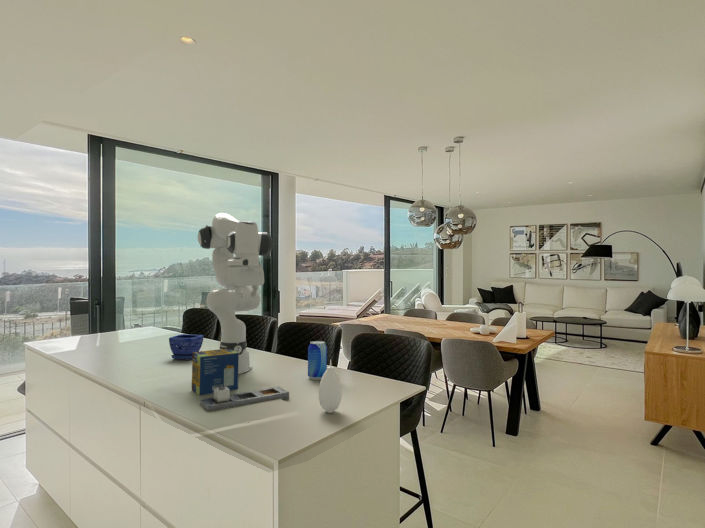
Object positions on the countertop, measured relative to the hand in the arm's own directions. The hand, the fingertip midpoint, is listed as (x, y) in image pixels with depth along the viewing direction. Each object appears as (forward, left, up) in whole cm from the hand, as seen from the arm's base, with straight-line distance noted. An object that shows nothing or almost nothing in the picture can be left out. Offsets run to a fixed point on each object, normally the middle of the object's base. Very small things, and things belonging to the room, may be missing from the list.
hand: (246, 297), depth 159 cm
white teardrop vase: (+35, +17, -38) cm, 54 cm away
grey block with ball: (+10, -12, -36) cm, 40 cm away
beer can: (-5, +36, -38) cm, 52 cm away
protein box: (-10, -9, -38) cm, 40 cm away
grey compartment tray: (+10, -3, -37) cm, 39 cm away
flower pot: (-78, -2, -38) cm, 87 cm away
